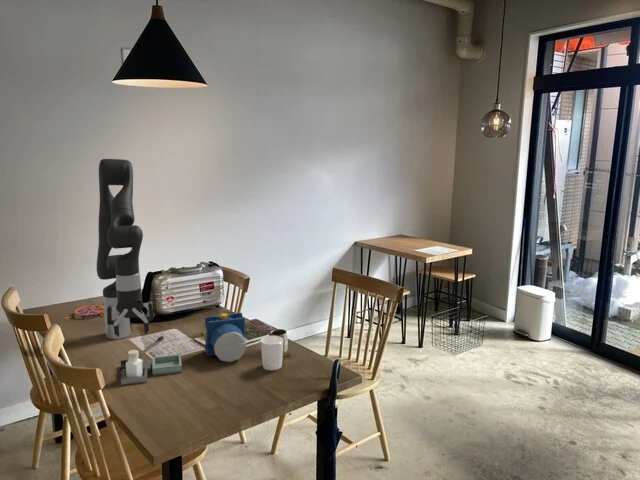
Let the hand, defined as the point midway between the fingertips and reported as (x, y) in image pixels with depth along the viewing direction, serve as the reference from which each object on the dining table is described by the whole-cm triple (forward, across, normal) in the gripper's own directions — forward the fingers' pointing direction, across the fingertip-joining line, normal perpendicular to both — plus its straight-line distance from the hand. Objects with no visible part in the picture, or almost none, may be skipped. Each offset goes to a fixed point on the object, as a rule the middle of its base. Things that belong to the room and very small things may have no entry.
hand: (132, 334), depth 168 cm
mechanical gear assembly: (+16, +18, -74) cm, 78 cm away
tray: (+15, -10, -5) cm, 19 cm away
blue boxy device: (+16, -32, -10) cm, 37 cm away
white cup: (+16, -46, +4) cm, 49 cm away
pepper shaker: (+16, 0, 0) cm, 16 cm away
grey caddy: (+15, 0, -4) cm, 16 cm away
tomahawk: (+16, -5, -24) cm, 30 cm away
